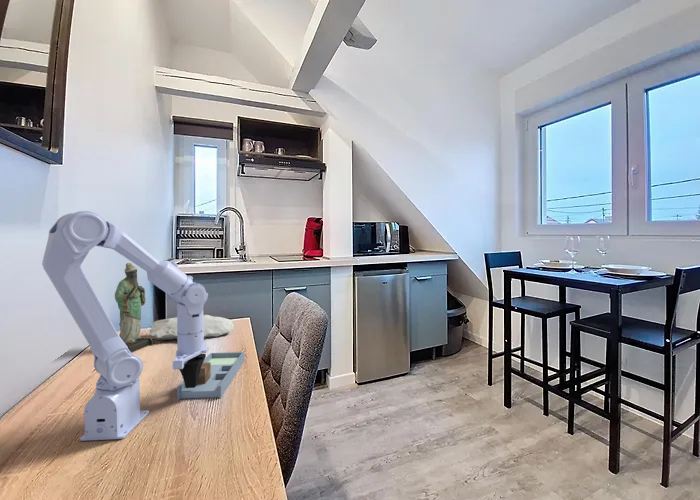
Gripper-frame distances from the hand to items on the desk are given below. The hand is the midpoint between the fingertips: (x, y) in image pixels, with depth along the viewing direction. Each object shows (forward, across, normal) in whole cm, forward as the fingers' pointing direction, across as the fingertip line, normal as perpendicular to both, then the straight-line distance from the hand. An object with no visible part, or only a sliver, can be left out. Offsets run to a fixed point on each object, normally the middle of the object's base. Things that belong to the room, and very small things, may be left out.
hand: (191, 386), depth 77 cm
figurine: (+3, +38, +36) cm, 53 cm away
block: (+1, +6, 0) cm, 6 cm away
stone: (+3, +52, +20) cm, 56 cm away
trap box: (+3, +10, -2) cm, 11 cm away
